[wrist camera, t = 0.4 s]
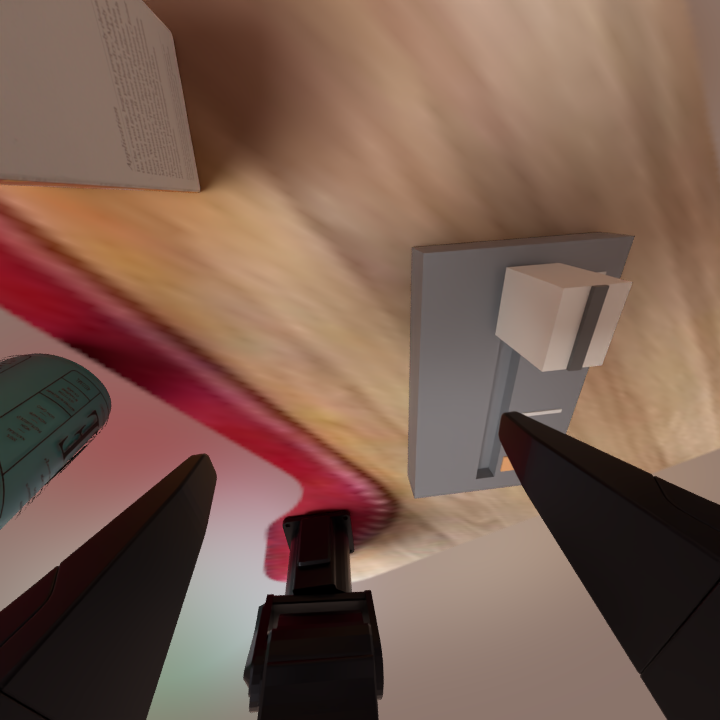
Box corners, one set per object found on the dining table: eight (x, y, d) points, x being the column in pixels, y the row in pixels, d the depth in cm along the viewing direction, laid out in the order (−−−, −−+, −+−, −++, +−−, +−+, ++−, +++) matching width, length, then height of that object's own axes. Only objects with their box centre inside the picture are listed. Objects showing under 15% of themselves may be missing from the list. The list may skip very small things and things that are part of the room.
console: (532, 459, 28) (550, 482, 26) (407, 474, 28) (414, 499, 25) (598, 231, 19) (636, 236, 16) (412, 247, 18) (424, 253, 16)
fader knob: (530, 323, 19) (605, 367, 14) (486, 327, 19) (544, 373, 14) (545, 259, 17) (637, 283, 12) (495, 263, 17) (567, 289, 12)
